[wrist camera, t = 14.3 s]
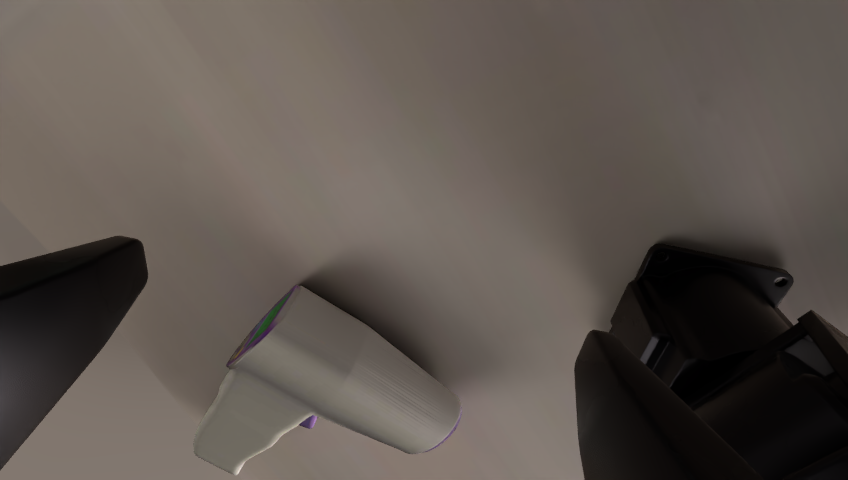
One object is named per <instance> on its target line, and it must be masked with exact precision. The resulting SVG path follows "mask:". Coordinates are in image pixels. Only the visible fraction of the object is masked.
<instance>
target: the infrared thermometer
mask: <svg viewBox="0 0 848 480" xmlns="http://www.w3.org/2000/svg"><path fill="white" fill-rule="evenodd" d="M226 366H227V367H228V368H229V369H230V370H229V372H228V374H227V375H226V377H225V378H224V380H223V381H222V383H221V385H220V389H219V394H218V395H217V397H216V398H215V400H214V401H213V403H212V404H211V406H210V408H209V409H208V411H207V412H206V414H205V416H204V417H203V419H202V421H201V422H200V424H199V427H198V429H197V431H196V434H195V438H194V444H193V447H194V453H195V455H196V456H198V457H199V458H201V459H203V460H205V461H207V462H209V463H211V464H213V465H215V466H217V467H219V468H221V469H223V470H225V471H227V472H229V473H231V474H234V475H237V474H238V473H239V472H240V470H241V468H242V466H243V464H244V463H245V461H247V460H248V459H250V458H252V457H253V456H255V455H257V454H259V453H260V452H262V451H264V450H266V449H268V448H270V447H271V446H272V445H273V444H274V443H276V442H277V441H278V439H279V438H280V437H281V436H282V435H283V434H285V433H286V432H288V431H290V430H291V429H293V428H295V427H296V426H297V425H300V426H303V427H306V428H309V429H310V428H312V427H313V426H314V424H315V422H316V419H317V417H319V418H322V419H325V420H327V421H330V422H332V423H335V424H338V425H340V426H343V427H345V428H348V429H350V430H353V431H355V432H358V433H360V434H363V435H365V436H368V437H370V438H372V439H375V440H377V441H380V442H382V443H385V444H387V445H389V446H392V447H394V448H397V449H399V450H401V451H404V452H405V453H409V454H418V453H423V452H427V451H430V450H432V449H434V448H436V447H437V446H439V445H440V444H442V443H443V442H444V441H445V440H446V439H447V438H448V437H449V436H450V435H451V434H452V433H453V431H454V430H455V429H456V427H457V425H458V423H459V421H460V418H461V414H462V407H461V402H460V400H459V398H458V397H457V396H456V395H455V394H454V393H452V392H451V391H450V390H449V389H447V388H446V387H445V386H443V385H442V384H441V383H440V382H438V381H437V380H436V379H435V378H433V377H432V376H431V375H429V374H428V373H427V372H426V371H424V370H423V369H422V368H421V367H419V366H418V365H417V364H415V363H414V362H413V361H412V360H410V359H409V358H408V357H407V356H405V355H404V354H403V353H402V352H400V351H399V350H398V349H396V348H395V347H394V346H393V345H391V344H390V343H389V342H388V341H386V340H385V339H384V338H383V337H381V336H380V335H379V334H378V333H376V332H375V331H374V330H373V329H372V328H370V327H369V326H368V325H366V324H364V323H363V322H361V321H359V320H358V319H356V318H354V317H353V316H351V315H349V314H348V313H346V312H344V311H343V310H341V309H339V308H338V307H336V306H334V305H333V304H331V303H329V302H328V301H326V300H324V299H323V298H321V297H319V296H318V295H316V294H314V293H313V292H311V291H309V290H308V289H306V288H304V287H303V286H297V285H296V286H294V287H293V288H292V289H291V290H290V291H289V292H288V293H287V294H286V295H285V296H284V297H283V298H282V299H281V300H280V301H279V302H278V303H277V304H276V305H275V306H274V307H273V308H272V309H271V310H270V311H269V312H268V313H267V314H266V315H265V316H264V317H263V318H262V320H261V321H260V322H259V323H258V324H257V325H256V326H255V328H254V329H253V330H252V331H251V332H250V333H249V335H248V336H247V337H246V338H245V339H244V341H243V342H242V343H241V345H240V346H239V347H238V348H237V350H236V351H235V352H234V354H233V355H232V357H231V358H230V360H229V361H228V363H227V365H226Z"/></svg>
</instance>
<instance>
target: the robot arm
mask: <svg viewBox="0 0 848 480" xmlns="http://www.w3.org/2000/svg"><path fill="white" fill-rule="evenodd" d="M661 252H664V253H665V254H664V255H663V256H662V257H656V256H657V254H659V253H661ZM780 278H782V280H781V281H779V282H777V283H775V282H776V281H777V280H778V279H780ZM147 279H148V270H147V264H146V258H145V252H144V247H143V244H142V243H141V241H139V240H138V239H134V238H129V237H124V236H114V237H110V238H107V239H103V240H99V241H95V242H91V243H87V244H84V245H80V246H76V247H72V248H68V249H64V250H60V251H57V252H53V253H49V254H46V255H42V256H37V257H34V258H30V259H26V260H22V261H19V262H14V263H11V264H7V265H3V266H0V470H1V469H2V468H3V466H4V465H5V464H6V463H7V462H8V461H9V459H10V458H11V457H12V456H13V455H14V453H15V452H16V451H17V450H18V449H19V447H20V446H21V445H22V444H23V443H24V441H25V440H26V439H27V438H28V437H29V435H30V434H31V433H32V432H33V431H34V430H35V428H36V427H37V426H38V425H39V423H40V422H41V421H42V420H43V419H44V417H45V416H46V415H47V414H48V413H49V412H50V410H51V409H52V408H53V407H54V406H55V404H56V403H57V402H58V401H59V400H60V398H61V397H62V396H63V395H64V393H66V391H67V390H68V389H69V388H70V387H71V385H72V384H73V383H74V382H75V381H76V379H77V378H78V377H79V376H80V374H81V373H82V372H83V371H84V370H85V369H86V367H87V366H88V365H89V364H90V363H91V361H92V360H93V359H94V358H95V357H96V355H97V354H98V353H99V352H100V350H101V349H102V348H103V347H104V345H105V344H106V342H107V341H108V340H109V338H110V337H111V335H112V334H113V332H114V331H115V330H116V328H117V327H118V325H119V324H120V322H121V321H122V319H123V318H124V316H125V315H126V313H127V312H128V310H129V309H130V307H131V306H132V304H133V303H134V301H135V300H136V298H137V297H138V295H139V294H140V293H141V291H142V290H143V288H144V286H145V285H146V282H147ZM793 282H794V281H793V277H792V276H791V275H790V274H789V273H788V272H787V271H786V270H783V269H779V268H775V267H770V266H765V265H761V264H756V263H751V262H746V261H742V260H737V259H732V258H728V257H723V256H718V255H714V254H709V253H704V252H700V251H695V250H690V249H686V248H681V247H676V246H672V245H667V244H656V245H654V246H652V247H651V248H650V249H649V250H648V252H647V255H646V257H645V259H644V261H643V263H642V265H641V267H640V269H639V271H638V273H637V275H636V277H635V279H634V280H633V281H631V282H630V283H628V285H627V287H626V289H625V292H624V294H623V296H622V298H621V300H620V302H619V304H618V306H617V308H616V310H615V312H614V315H613V317H612V319H611V324H612V327H611V329H610V331H609V332H604V331H599V330H592V331H590V332H589V333H588V335H587V337H586V339H585V341H584V343H583V346H582V348H581V350H580V352H579V355H578V357H577V359H576V362H575V370H574V373H575V391H576V408H577V426H578V440H579V448H580V455H581V461H582V466H583V472H584V478H585V480H848V337H847V336H846V335H845V334H843V333H842V332H841V331H839V330H838V329H837V328H835V327H834V326H833V325H831V324H830V323H829V322H827V321H826V320H825V319H823V318H822V317H821V316H819V315H818V314H817V313H815V312H814V311H812V310H810V311H809V312H807V313H806V314H804V315H803V316H801V317H800V318H799V319H797V320H798V321H799V323H797V324H796V325H793V324H792V323H791V322H790V321H789V320H788V319H787V318H786V316H785V315H784V314H783V313H782V312H781V311H780V310H779V309H778V308H777V306H778V305H779V303H780V302H781V300H782V299H783V298H784V296H785V295H786V293H787V292H788V290H789V289H790V287H791V286H792V284H793Z"/></svg>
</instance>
